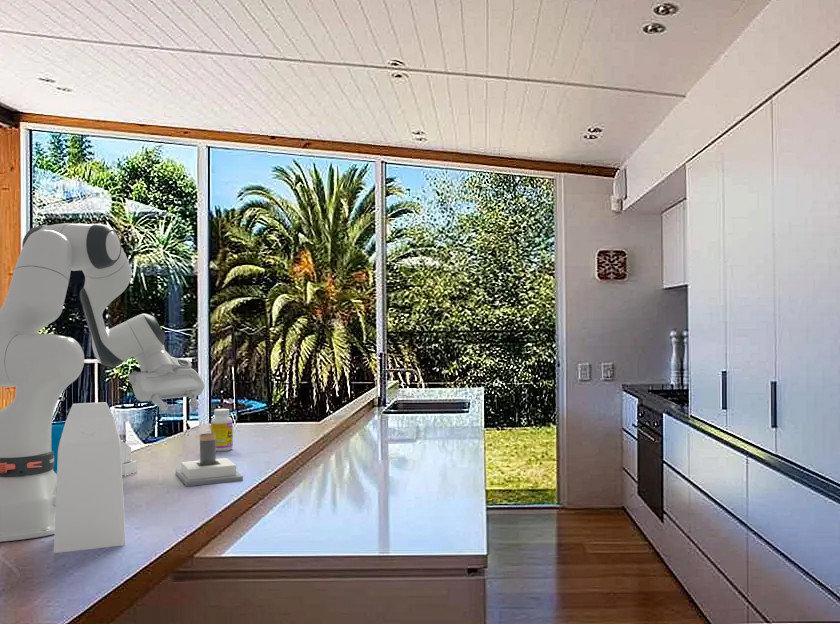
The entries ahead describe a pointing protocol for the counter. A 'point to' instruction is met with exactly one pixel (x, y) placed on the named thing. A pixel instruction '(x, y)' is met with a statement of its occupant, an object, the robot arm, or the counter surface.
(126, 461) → the white angled block
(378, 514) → the counter surface
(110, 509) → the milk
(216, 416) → the supplement bottle
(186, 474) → the socket
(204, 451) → the battery
